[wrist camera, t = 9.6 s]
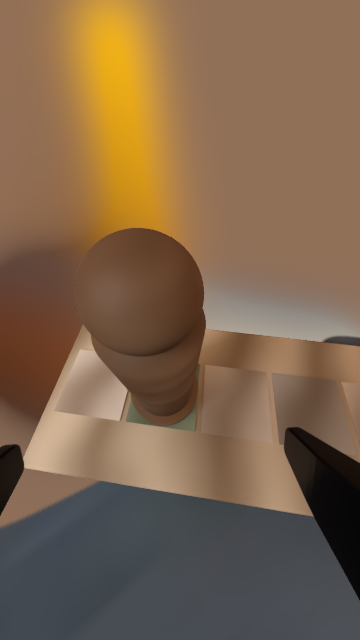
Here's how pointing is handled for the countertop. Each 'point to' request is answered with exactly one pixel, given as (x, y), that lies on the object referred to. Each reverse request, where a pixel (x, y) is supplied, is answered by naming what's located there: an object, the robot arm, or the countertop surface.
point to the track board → (206, 420)
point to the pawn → (145, 318)
